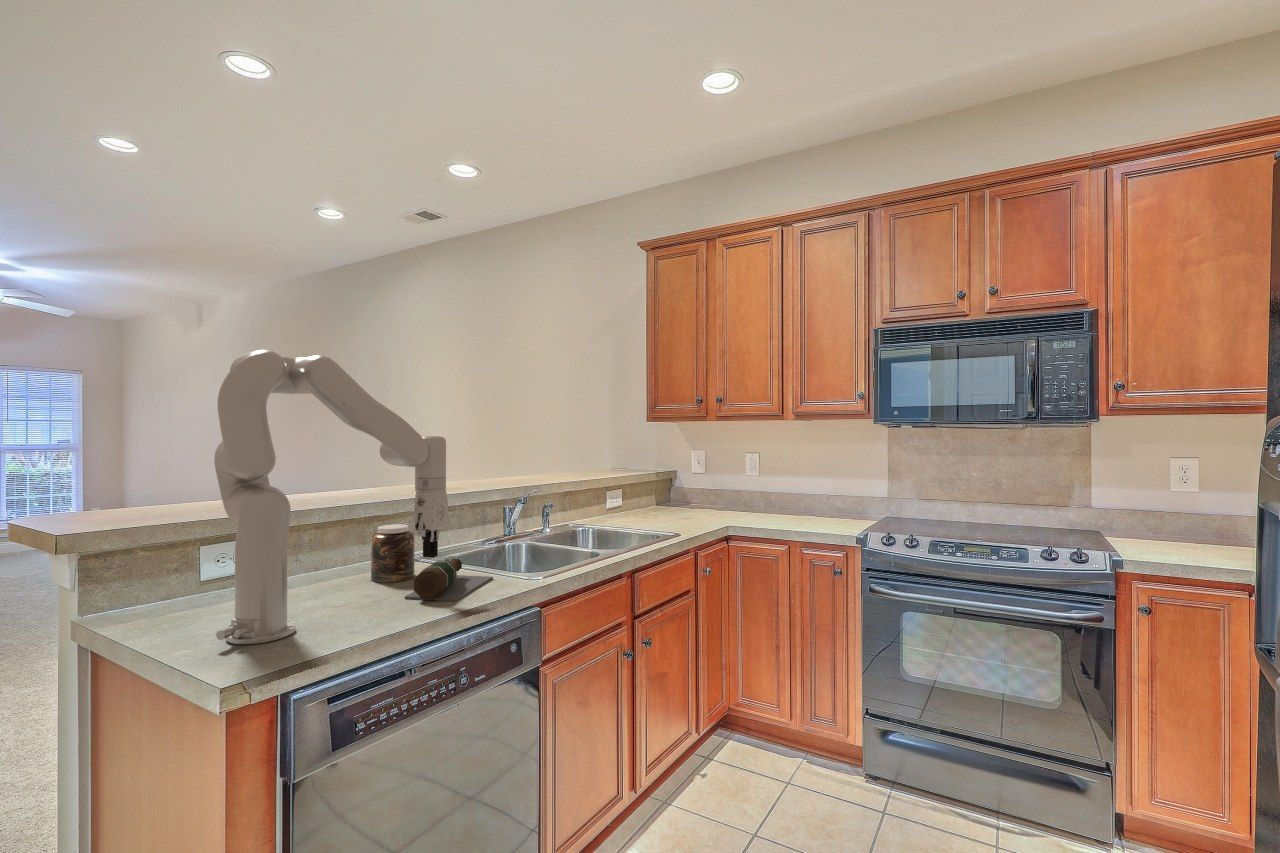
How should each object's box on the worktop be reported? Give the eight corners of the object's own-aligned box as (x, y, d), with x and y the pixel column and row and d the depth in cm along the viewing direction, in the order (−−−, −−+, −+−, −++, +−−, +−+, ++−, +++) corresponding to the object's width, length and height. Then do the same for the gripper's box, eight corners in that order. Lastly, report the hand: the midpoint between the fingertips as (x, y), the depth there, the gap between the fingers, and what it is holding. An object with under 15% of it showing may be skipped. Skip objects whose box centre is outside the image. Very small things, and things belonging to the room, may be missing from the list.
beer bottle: (447, 593, 158) (474, 571, 182) (435, 565, 158) (463, 546, 182) (418, 605, 159) (449, 581, 183) (407, 576, 159) (439, 556, 183)
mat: (456, 601, 159) (456, 599, 159) (404, 598, 161) (404, 596, 161) (492, 578, 183) (492, 576, 183) (447, 576, 185) (447, 574, 185)
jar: (376, 573, 188) (376, 523, 188) (417, 572, 190) (417, 522, 190) (366, 583, 177) (366, 530, 176) (410, 582, 179) (410, 529, 179)
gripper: (430, 487, 152) (429, 563, 152) (457, 482, 167) (457, 551, 167) (401, 487, 153) (400, 562, 153) (431, 481, 168) (430, 550, 168)
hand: (430, 556), depth 160 cm, fingers closed
